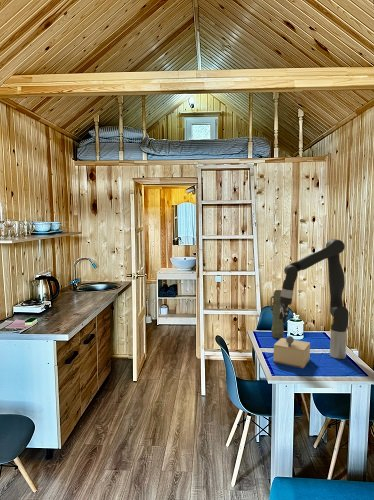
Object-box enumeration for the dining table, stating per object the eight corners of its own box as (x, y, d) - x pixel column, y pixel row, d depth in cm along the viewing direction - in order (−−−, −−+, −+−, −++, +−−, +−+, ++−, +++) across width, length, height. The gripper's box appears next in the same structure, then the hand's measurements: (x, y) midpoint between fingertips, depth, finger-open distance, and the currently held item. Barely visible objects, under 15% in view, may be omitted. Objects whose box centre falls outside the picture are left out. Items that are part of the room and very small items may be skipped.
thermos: (287, 338, 270) (288, 291, 268) (271, 338, 270) (272, 291, 267) (283, 334, 279) (285, 289, 277) (268, 334, 279) (269, 289, 276)
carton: (309, 359, 228) (310, 344, 227) (303, 368, 214) (304, 351, 213) (280, 354, 237) (281, 339, 236) (273, 362, 223) (273, 346, 223)
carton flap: (310, 343, 227) (310, 332, 227) (304, 351, 213) (304, 339, 213) (281, 339, 236) (281, 328, 236) (273, 346, 222) (274, 334, 222)
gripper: (295, 299, 225) (290, 324, 227) (289, 294, 240) (285, 318, 241) (283, 297, 225) (279, 323, 227) (278, 293, 240) (273, 317, 241)
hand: (282, 320), depth 234 cm, fingers open, 8 cm apart
